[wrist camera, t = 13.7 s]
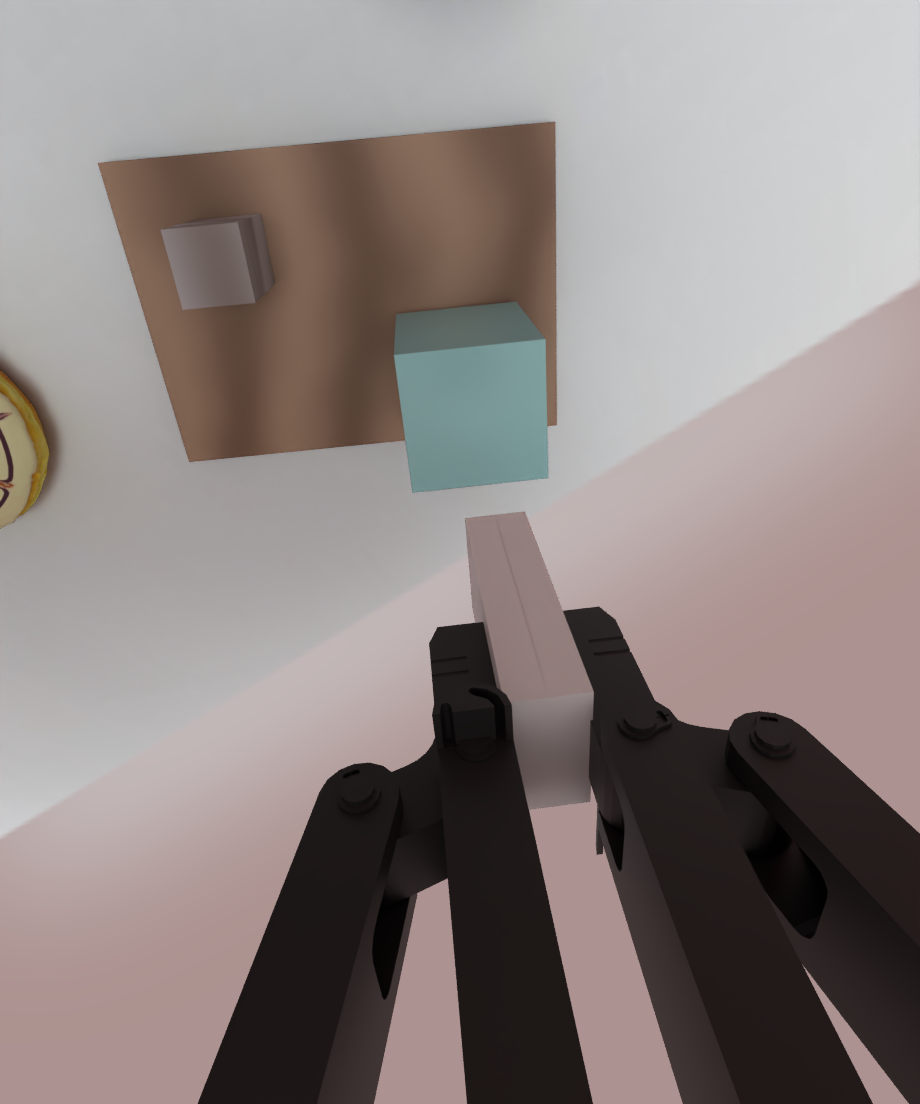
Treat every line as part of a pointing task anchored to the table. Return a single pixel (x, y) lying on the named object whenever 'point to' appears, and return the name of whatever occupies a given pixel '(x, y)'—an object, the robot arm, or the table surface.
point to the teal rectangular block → (472, 396)
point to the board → (327, 273)
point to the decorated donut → (19, 453)
